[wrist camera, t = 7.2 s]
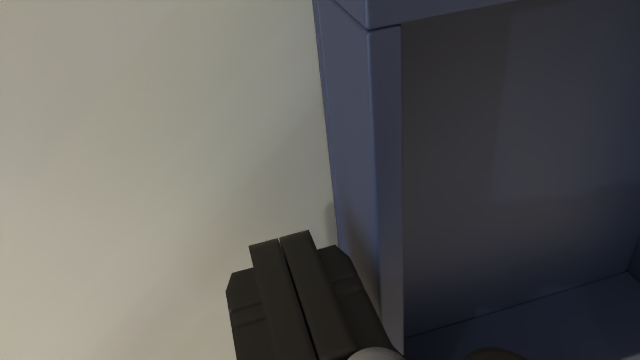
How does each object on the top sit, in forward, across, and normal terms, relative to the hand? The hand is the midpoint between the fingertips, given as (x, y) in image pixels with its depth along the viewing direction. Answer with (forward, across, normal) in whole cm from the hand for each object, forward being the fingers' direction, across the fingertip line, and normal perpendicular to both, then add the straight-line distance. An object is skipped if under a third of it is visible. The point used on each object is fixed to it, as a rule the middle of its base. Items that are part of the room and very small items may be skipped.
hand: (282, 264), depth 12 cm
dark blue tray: (+2, -7, 0) cm, 8 cm away
